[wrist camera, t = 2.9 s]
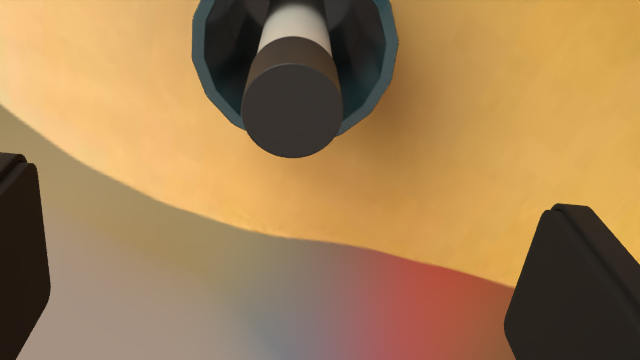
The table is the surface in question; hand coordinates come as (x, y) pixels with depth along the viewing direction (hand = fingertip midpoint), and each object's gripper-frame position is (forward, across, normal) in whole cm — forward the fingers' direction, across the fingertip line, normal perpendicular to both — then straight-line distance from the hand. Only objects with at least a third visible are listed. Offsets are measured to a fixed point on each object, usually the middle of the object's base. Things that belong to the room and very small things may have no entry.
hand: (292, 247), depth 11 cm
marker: (+21, 0, 0) cm, 21 cm away
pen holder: (+22, 0, 0) cm, 22 cm away
